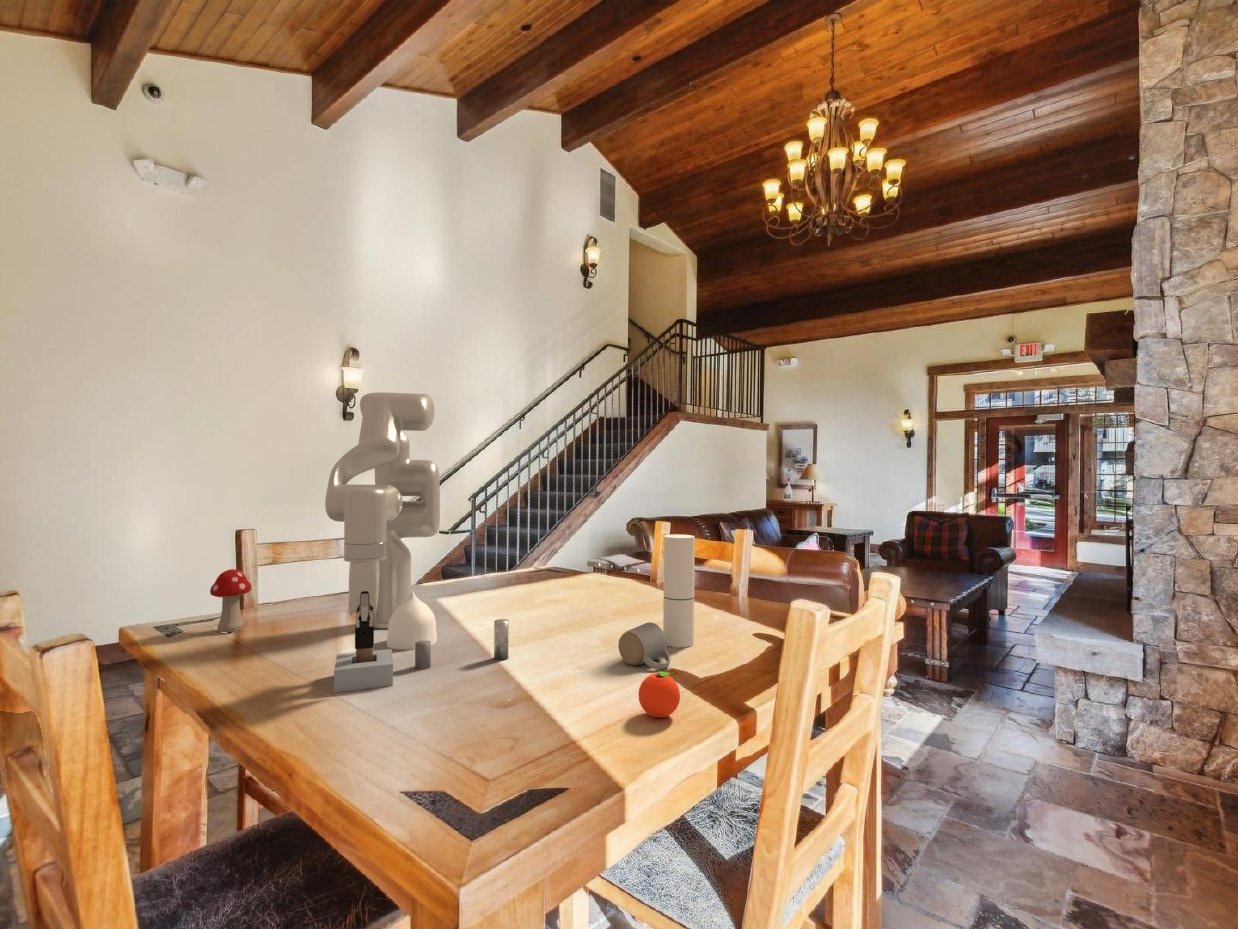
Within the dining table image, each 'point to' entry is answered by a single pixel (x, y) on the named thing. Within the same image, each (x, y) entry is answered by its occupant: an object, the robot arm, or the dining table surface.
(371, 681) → the hole block
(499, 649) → the medium pin
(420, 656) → the short pin
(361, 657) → the long pin
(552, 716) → the dining table surface
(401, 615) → the teardrop
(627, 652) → the ceramic mug
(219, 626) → the decorative mushroom
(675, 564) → the cylindrical container
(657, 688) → the clementine
